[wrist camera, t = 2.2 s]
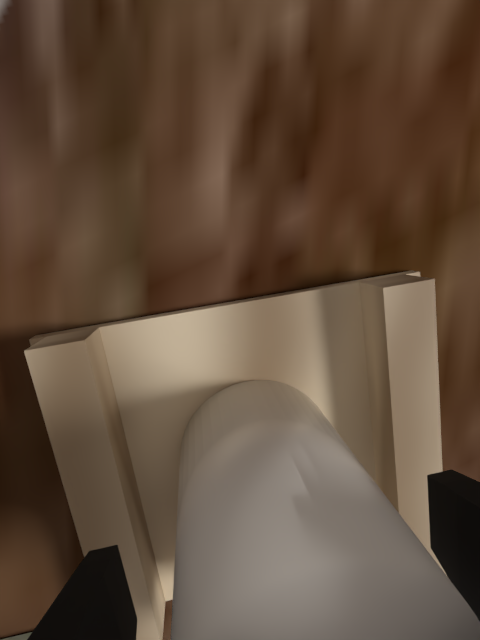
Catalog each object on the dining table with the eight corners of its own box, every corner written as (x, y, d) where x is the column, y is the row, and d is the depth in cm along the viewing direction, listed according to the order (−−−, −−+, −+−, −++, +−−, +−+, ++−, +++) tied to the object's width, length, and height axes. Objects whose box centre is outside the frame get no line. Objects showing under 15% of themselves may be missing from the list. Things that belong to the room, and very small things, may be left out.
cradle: (411, 270, 12) (451, 275, 10) (424, 527, 15) (460, 571, 13) (35, 335, 11) (3, 354, 9) (110, 601, 14) (96, 661, 12)
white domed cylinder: (321, 366, 12) (488, 527, 5) (339, 535, 14) (489, 831, 7) (166, 396, 12) (133, 614, 5) (202, 568, 13) (214, 920, 6)
